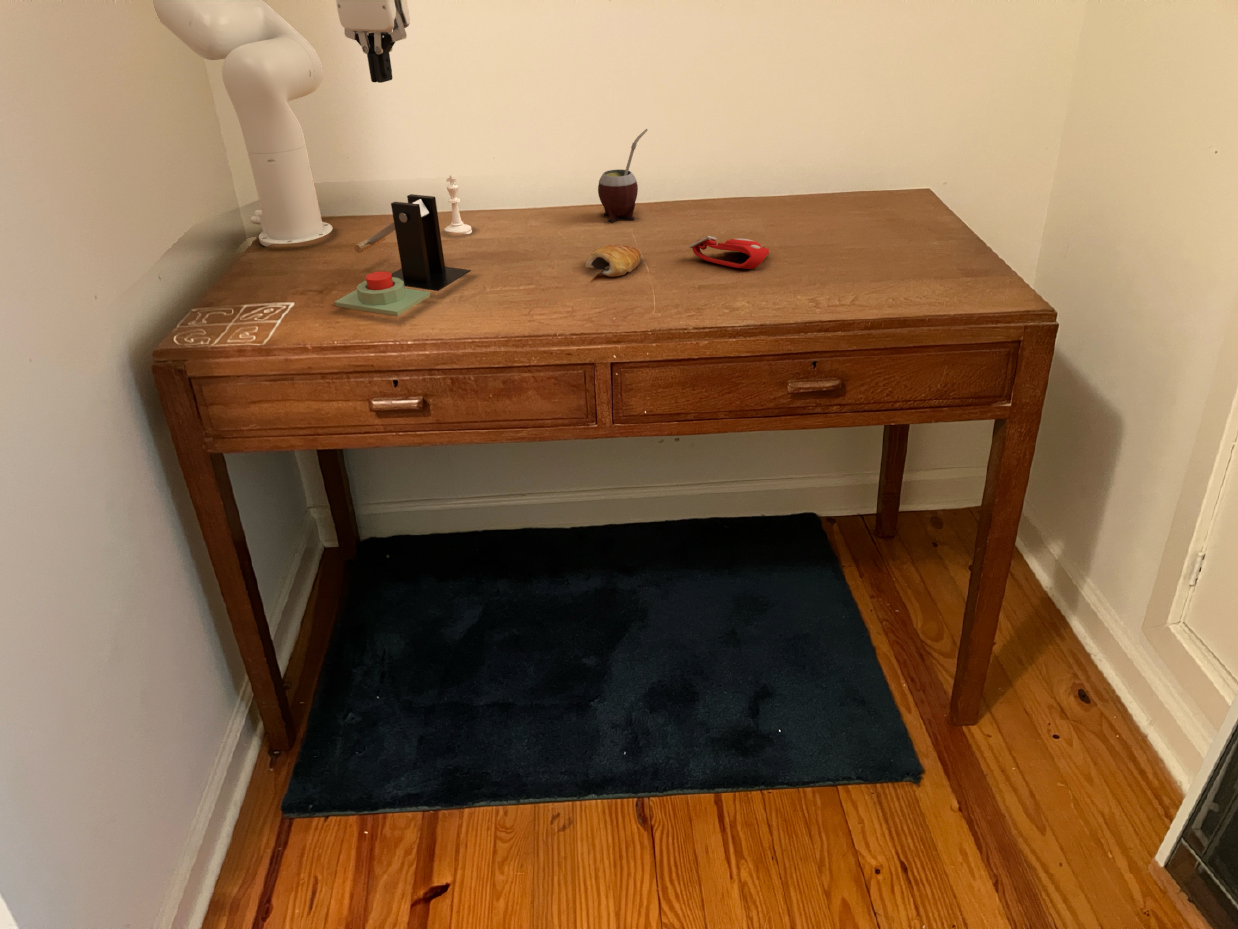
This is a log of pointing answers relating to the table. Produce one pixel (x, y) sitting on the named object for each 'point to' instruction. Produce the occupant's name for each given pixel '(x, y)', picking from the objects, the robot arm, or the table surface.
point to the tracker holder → (740, 245)
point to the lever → (385, 231)
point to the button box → (383, 298)
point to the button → (379, 281)
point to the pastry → (614, 259)
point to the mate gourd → (619, 190)
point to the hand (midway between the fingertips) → (382, 80)
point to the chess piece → (455, 210)
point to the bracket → (421, 246)
